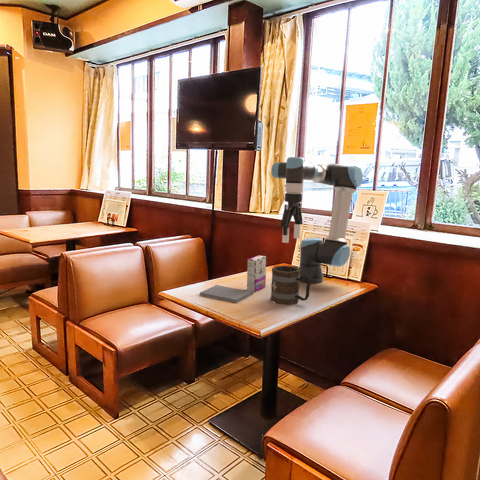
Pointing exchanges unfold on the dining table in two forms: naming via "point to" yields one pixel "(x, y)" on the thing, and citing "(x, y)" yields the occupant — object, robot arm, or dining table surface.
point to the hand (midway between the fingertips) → (291, 240)
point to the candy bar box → (256, 273)
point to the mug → (287, 285)
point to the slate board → (226, 293)
